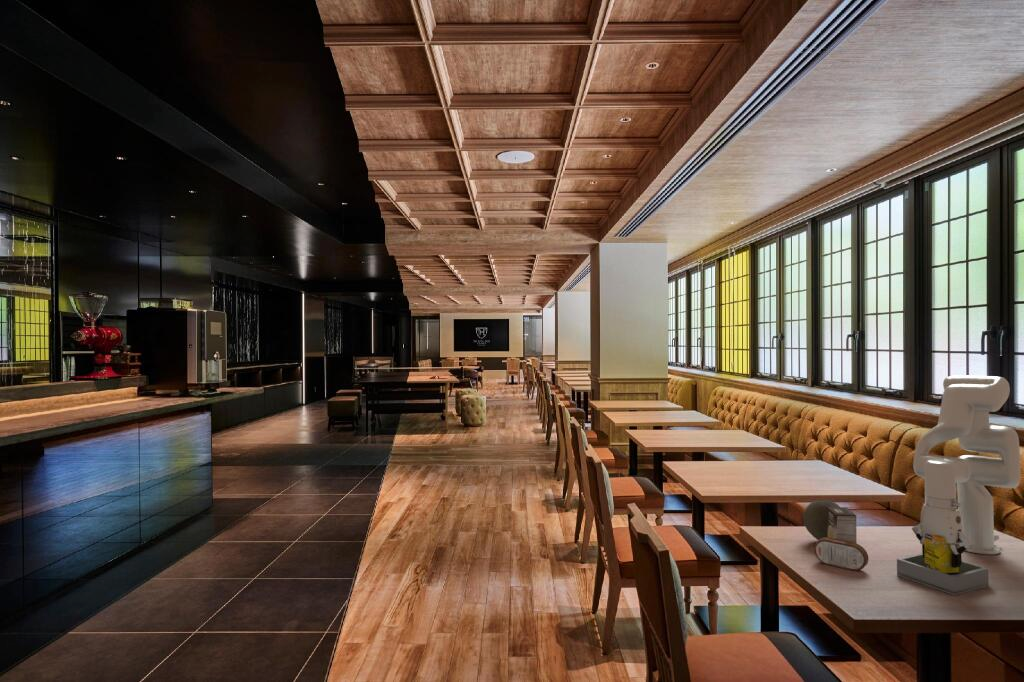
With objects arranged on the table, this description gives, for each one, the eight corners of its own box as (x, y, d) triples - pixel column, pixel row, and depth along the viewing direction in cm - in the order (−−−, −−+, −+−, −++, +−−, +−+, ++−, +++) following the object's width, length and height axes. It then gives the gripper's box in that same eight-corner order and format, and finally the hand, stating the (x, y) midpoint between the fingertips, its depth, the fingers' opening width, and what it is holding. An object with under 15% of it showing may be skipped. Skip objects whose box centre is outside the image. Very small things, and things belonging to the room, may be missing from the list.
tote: (930, 567, 185) (930, 551, 185) (988, 585, 170) (988, 568, 170) (897, 575, 178) (896, 558, 179) (954, 595, 164) (954, 577, 164)
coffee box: (826, 554, 197) (826, 506, 197) (847, 555, 196) (847, 507, 196) (836, 564, 188) (835, 514, 188) (858, 565, 187) (857, 514, 187)
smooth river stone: (822, 535, 217) (821, 494, 217) (858, 546, 204) (858, 503, 204) (795, 540, 211) (794, 498, 211) (830, 553, 198) (829, 508, 198)
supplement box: (924, 568, 177) (923, 532, 177) (942, 567, 178) (942, 531, 178) (940, 576, 171) (939, 538, 171) (959, 575, 172) (958, 537, 172)
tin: (868, 571, 182) (868, 544, 182) (866, 574, 180) (866, 546, 180) (816, 560, 192) (815, 534, 192) (813, 562, 190) (812, 536, 190)
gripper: (981, 508, 168) (982, 570, 168) (918, 494, 184) (919, 551, 184) (965, 511, 165) (966, 574, 165) (902, 497, 181) (903, 554, 181)
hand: (941, 561), depth 174 cm, fingers closed on supplement box, 7 cm apart
